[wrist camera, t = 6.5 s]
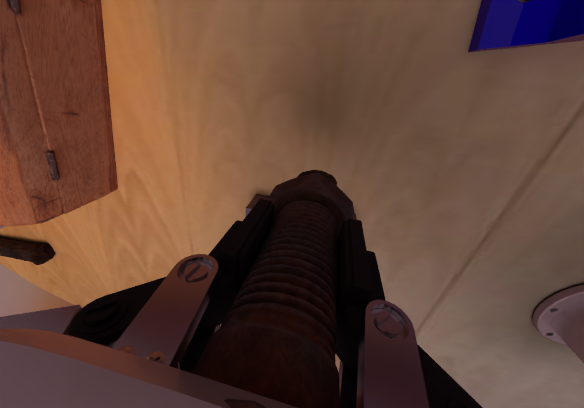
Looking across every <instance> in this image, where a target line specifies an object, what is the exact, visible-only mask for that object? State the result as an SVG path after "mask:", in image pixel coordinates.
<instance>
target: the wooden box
mask: <svg viewBox="0 0 584 408" xmlns="http://www.w3.org/2000/svg"><path fill="white" fill-rule="evenodd" d="M108 88H109V87H108V76H107V65H106V54H105V42H104V31H103V20H102V8H101V0H0V226H18V225H30V224H38V223H43V222H46V221H48V220H50V219H53V218H55V217H57V216H59V215H62V214H63V213H65V214H66V213H68V212H70V211H72V210H75V209H77V208H79V207H81V206H83V205H85V204H87V203H90V202H92V201H94V200H97V199H99V198H101V197H103V196H105V195H107V194H109V193H111V192H113V191H114V190H116V189H117V177H116V166H115V156H114V144H113V134H112V122H111V109H110V99H109V89H108Z"/></svg>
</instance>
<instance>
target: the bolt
mask: <svg viewBox="0 0 584 408" xmlns="http://www.w3.org/2000/svg"><path fill="white" fill-rule="evenodd" d="M336 185H337V182H336V180H335V178H334V177H333V176H332V175H330V174H328V173H326V172H323V171H320V170H310V171H306V172H302V173H301V174H300V175H299V176H298V177H297V178H294V179H291V180H289V181H286V182H284V183H281V184H279V185H277V186H276V187H275V188H274V190H273V191H272V192H271V194H270V199H269V201H271V202H272V204H273V205H275V211H274V220H273V225H272V227H271V229H270V230H269V233H268V234H267V237H266V238H265V240H264V243H263V244H262V247H261V248H260V250H259V253H258V254H257V256H256V259H255V261H254V263H253V264H252V266H251V269H250V271H249V272H248V274H247V277H246V278H245V280H244V282H243V284H242V286H241V288H240V290H239V292H238V294H237V296H236V297H235V299H234V301H233V304H232V305H231V307H230V310H229V312H228V314H227V316H226V318H225V319H224V320H223V322H222V324H221V326H220V328H219V329H218V330H217V331H216V332H215V333H214V334H213V335H212V336H211V338H210V340H209V342H208V343H207V345H206V347H205V349H204V351H203V353H202V355H201V356H200V358H199V360H198V362H197V364H196V366H195V368H194V369H193V371H192V374H195V375H198V376H202V377H205V378H208V379H211V380H214V381H217V382H220V383H223V384H226V385H229V386H232V387H235V388H238V389H242V390H245V391H248V392H251V393H254V394H257V395H260V396H263V397H266V398H269V399H272V400H275V401H278V402H281V403H284V404H288V405H291V406H294V407H297V408H340V380H339V372H338V370H337V367H336V365H335V354H336V345H335V344H336V336H337V335H336V326H337V323H336V306H337V302H336V299H337V240H338V236H339V233H340V230H341V227H342V223H343V221H344V220H345V221H348V219H349V218H350V219H352V218H353V214H354V209H353V202H352V201H351V200H350V199H349V198H348V197H347V196H346V194H345V193H344V192H343V191H341V190H340V189H339V188H338V187H337V186H336ZM224 401H225V402H226V403H227V404H228V405H229V407H230V408H266V407H264V406H262V405H261V404H259V403H257V402H256V401H250V400H237V399H225V400H224Z"/></svg>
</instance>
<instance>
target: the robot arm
mask: <svg viewBox="0 0 584 408" xmlns="http://www.w3.org/2000/svg"><path fill="white" fill-rule="evenodd" d="M274 211H275V205H273V204H272V202H271V201H268V200H264V199H259V200H258V202H257V203H256V204H255V206H254V207H253V208H252V210H251V211H250V212H249V214H248V215H247V216H246V217H245V219H244V220H243V221H236V222H235V223H234V224H233V225H232V227H231V228H230V229H229V230H228V231H227V233H226V234H225V235H224V236H223V238H222V239H221V240H220V241H219V243H218V244H217V245H216V246H215V247H214V249H213V250H212V251H211V252H210V254H209V255H206V254H196V255H191V256H188V257H186V258H184V259H182V260H181V261H179V262H178V263H177V264H176V265H175V266H174V268H173V269H172V270H171V272H170V273H169V274H168V275H167V277H164V278H160V279H157V280H154V281H151V282H148V283H144V284H141V285H138V286H135V287H132V288H128V289H125V290H122V291H119V292H116V293H112V294H109V295H106V296H103V297H101V298H98V299H96V300H94V301H92V302H91V303H89V304H87V305H86V306H85V307H84V308H81V306H80V305H74V306H68V307H61V308H55V309H49V310H42V311H36V312H30V313H23V314H17V315H10V316H4V317H0V408H230V407H229V405H228V404H227V403H226V402H225V401H224V400H225V399H237V400H250V401H256V402H257V403H259V404H261V405H262V406H264V407H266V408H297V407H294V406H291V405H288V404H284V403H281V402H278V401H275V400H272V399H269V398H266V397H263V396H260V395H257V394H254V393H251V392H248V391H245V390H242V389H238V388H235V387H232V386H229V385H226V384H223V383H220V382H217V381H214V380H211V379H208V378H205V377H202V376H198V375H195V374H192V371H193V369H194V368H195V366H196V364H197V362H198V360H199V358H200V356H201V355H202V353H203V351H204V349H205V347H206V345H207V343H208V342H209V340H210V338H211V336H212V335H213V334H214V333H215V332H216V331H217V330H218V329H219V328H220V324H222V322H223V320H224V319H225V318H226V316H227V314H228V312H229V310H230V307H231V305H232V304H233V301H234V299H235V297H236V296H237V294H238V292H239V290H240V288H241V286H242V284H243V282H244V280H245V278H246V277H247V274H248V272H249V271H250V269H251V266H252V264H253V263H254V261H255V259H256V256H257V254H258V253H259V250H260V248H261V247H262V244H263V243H264V240H265V238H266V237H267V234H268V233H269V230H270V229H271V227H272V225H273V220H274ZM336 302H337V306H336V323H337V326H336V335H337V336H336V344H335V345H336V354H337V356H338V357H339V359H340V360H341V361H340V368H339V380H340V408H482V407H481V406H480V405H479V404H478V403H477V402H476V401H475V400H474V399H473V398H472V397H471V396H470V395H469V394H468V393H467V392H466V391H465V390H464V389H463V388H462V387H461V386H460V385H459V384H458V383H457V382H456V381H455V380H454V379H453V378H452V377H451V376H449V375H448V374H447V373H446V372H445V371H444V370H443V369H442V368H441V367H440V366H439V365H438V364H437V363H436V362H435V361H434V360H433V359H432V358H431V357H430V356H429V355H428V354H427V353H426V352H425V351H424V350H423V349H422V348H421V347H420V346H419V345H418V344H417V341H416V336H415V331H414V328H413V325H412V322H411V321H410V319H409V318H408V316H407V315H406V314H405V313H404V312H403V311H402V310H401V309H400V308H399V307H397V306H396V305H394V304H392V303H390V302H388V301H386V300H385V296H384V291H383V287H382V282H381V278H380V274H379V269H378V265H377V260H376V256H375V253H374V252H371V251H366V245H365V239H364V234H363V228H362V222H361V221H360V220H355V219H350V218H349V219H348V221H345V220H344V221H343V223H342V227H341V230H340V233H339V236H338V240H337V299H336ZM533 323H534V326H535V327H536V328H537V330H538V331H539V332H540V333H541V334H542V335H543V336H544V337H546V338H547V339H549V340H551V341H554V342H556V343H560V344H564V345H568V346H569V347H570V348H571V350H572V351H573V352H574V353H575V354H576V355H577V356H578V357H579V358H580V359H581V360H582V362H583V363H584V285H580V286H575V287H572V288H569V289H566V290H564V291H561V292H559V293H557V294H555V295H553V296H551V297H549V298H548V299H546V300H545V301H544V302H542V303H541V304H540V305H539V306H538V308H537V309H536V310H535V313H534V315H533Z"/></svg>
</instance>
